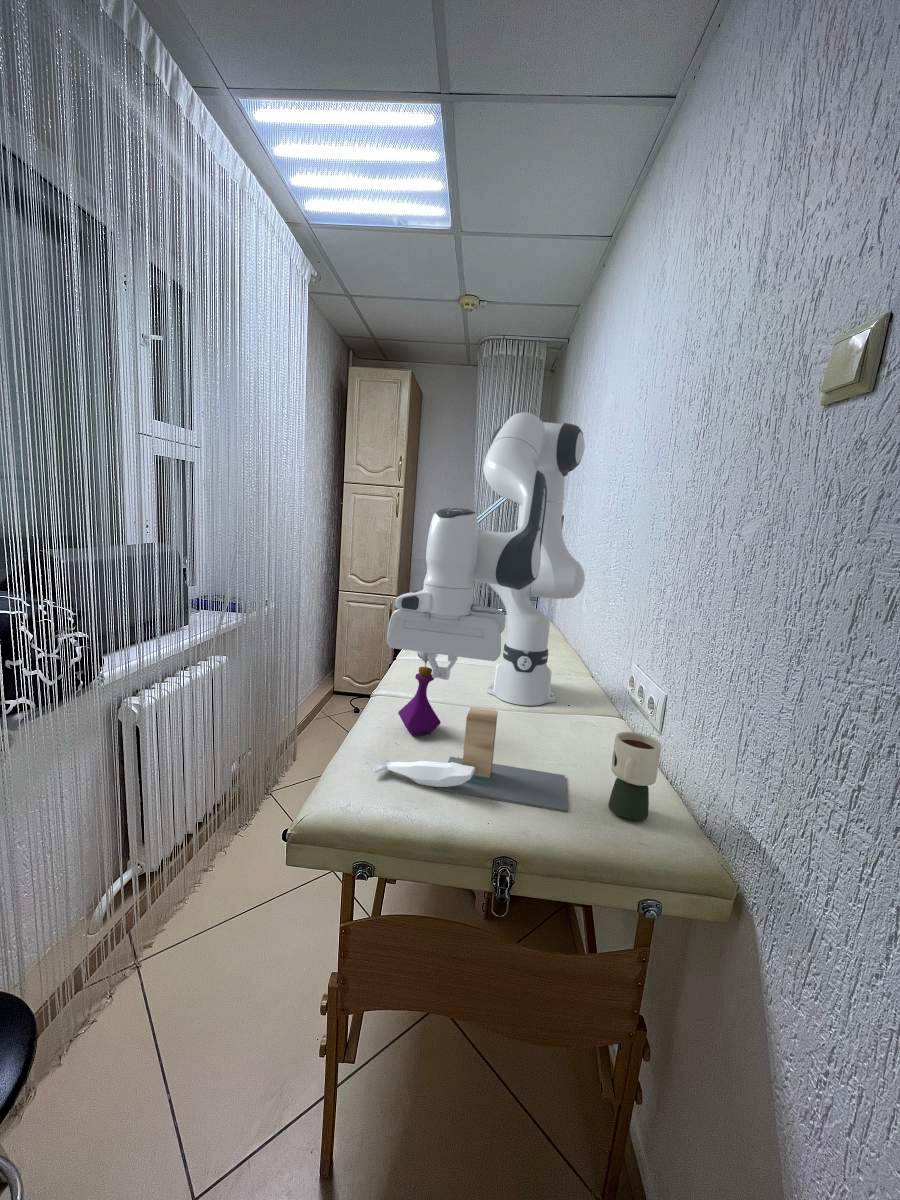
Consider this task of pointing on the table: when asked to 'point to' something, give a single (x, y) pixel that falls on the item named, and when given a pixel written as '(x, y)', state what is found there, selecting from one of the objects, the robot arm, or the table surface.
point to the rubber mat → (518, 787)
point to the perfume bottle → (420, 705)
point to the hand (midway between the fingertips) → (440, 678)
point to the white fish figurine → (429, 772)
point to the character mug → (633, 774)
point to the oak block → (480, 743)
